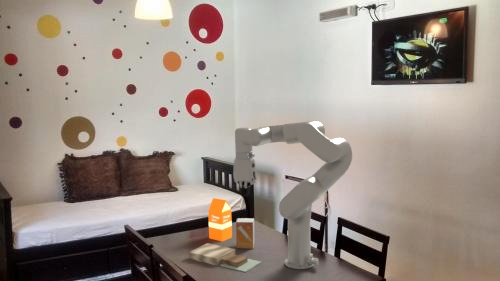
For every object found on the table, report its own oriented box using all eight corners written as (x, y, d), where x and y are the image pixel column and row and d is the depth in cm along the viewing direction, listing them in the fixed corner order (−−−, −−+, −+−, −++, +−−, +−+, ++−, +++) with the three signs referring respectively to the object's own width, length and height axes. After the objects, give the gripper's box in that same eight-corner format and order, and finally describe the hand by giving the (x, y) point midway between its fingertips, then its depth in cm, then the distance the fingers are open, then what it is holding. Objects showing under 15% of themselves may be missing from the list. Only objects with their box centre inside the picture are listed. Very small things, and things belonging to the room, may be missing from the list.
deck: (235, 256, 212) (235, 249, 212) (217, 265, 202) (217, 258, 201) (207, 249, 221) (207, 243, 221) (189, 258, 210) (189, 251, 210)
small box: (236, 248, 222) (235, 221, 220) (238, 244, 228) (237, 217, 226) (253, 248, 221) (253, 222, 219) (254, 244, 227) (254, 218, 225)
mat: (261, 262, 204) (261, 261, 204) (245, 272, 194) (245, 271, 194) (235, 256, 212) (235, 255, 212) (219, 265, 202) (219, 264, 202)
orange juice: (222, 241, 232) (221, 202, 229) (209, 238, 237) (207, 199, 234) (232, 237, 238) (231, 198, 235) (219, 233, 243) (217, 196, 241)
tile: (247, 261, 204) (247, 257, 204) (238, 267, 198) (238, 262, 198) (230, 257, 209) (230, 253, 209) (221, 263, 203) (221, 258, 203)
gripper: (262, 155, 207) (263, 196, 210) (235, 153, 216) (236, 192, 218) (253, 158, 201) (254, 200, 204) (225, 155, 209) (226, 196, 212)
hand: (245, 196), depth 211 cm, fingers closed
